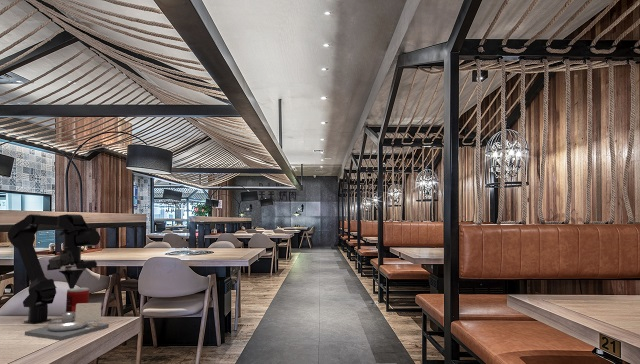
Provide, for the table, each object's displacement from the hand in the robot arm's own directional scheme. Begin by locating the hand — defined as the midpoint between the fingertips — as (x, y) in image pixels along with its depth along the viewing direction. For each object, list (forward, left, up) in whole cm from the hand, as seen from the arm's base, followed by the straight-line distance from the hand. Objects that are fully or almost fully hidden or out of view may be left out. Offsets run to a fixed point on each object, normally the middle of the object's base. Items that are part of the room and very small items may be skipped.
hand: (71, 288), depth 159 cm
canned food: (-9, +10, -13) cm, 19 cm away
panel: (+10, -8, -13) cm, 18 cm away
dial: (+12, -7, -11) cm, 18 cm away
